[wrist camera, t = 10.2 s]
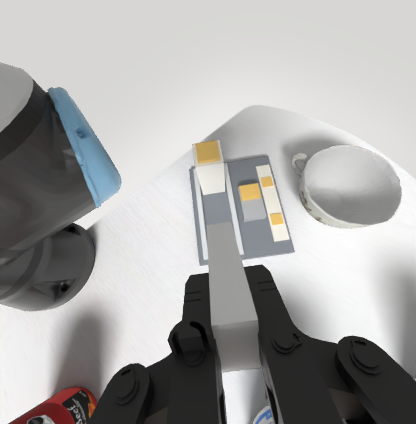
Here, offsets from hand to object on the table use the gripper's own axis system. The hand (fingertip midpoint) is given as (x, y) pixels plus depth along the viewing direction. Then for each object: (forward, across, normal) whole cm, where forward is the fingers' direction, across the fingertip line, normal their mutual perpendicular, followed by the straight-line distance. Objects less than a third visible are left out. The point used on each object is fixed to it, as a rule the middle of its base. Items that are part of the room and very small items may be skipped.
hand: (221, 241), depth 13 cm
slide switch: (+25, 0, -4) cm, 25 cm away
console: (+22, +4, -8) cm, 24 cm away
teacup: (+22, +18, -9) cm, 29 cm away
